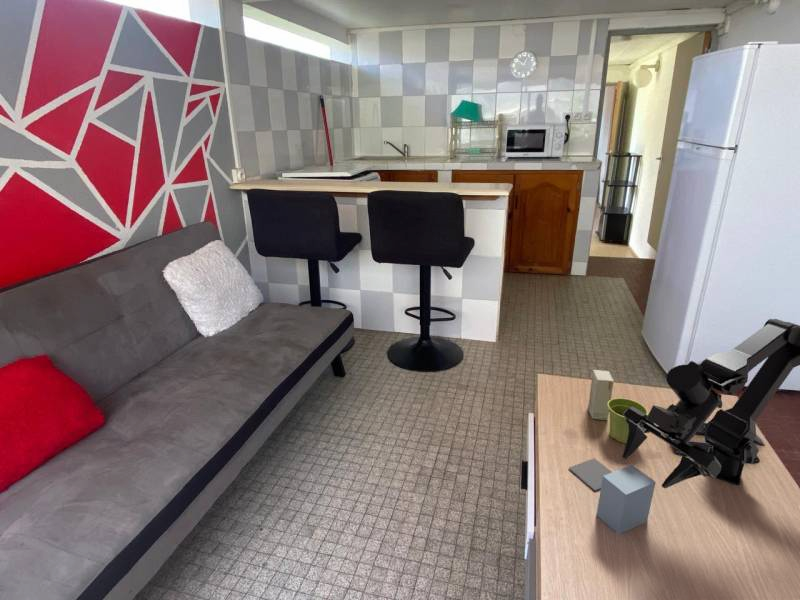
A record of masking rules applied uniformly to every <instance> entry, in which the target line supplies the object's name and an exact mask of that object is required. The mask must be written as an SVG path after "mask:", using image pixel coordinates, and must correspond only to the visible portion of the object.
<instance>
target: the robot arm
mask: <svg viewBox="0 0 800 600" xmlns="http://www.w3.org/2000/svg"><path fill="white" fill-rule="evenodd" d="M762 362H763V363H762ZM761 363H762V365H761V366H760V368H759V370H757V372H756V373H755V374H754V376H753V378H752V379H751V380H750V382H749V381H748V380H749V379H748V378H749V373H750V372H751V371H752V370H753V369H755V367H757V366H758V365H759V364H761ZM799 366H800V324H796V323H793V322H789V321H783V320H780V319H778V318H769V319H767V321H766V322H765V323H764V324H763V327H761V328H760V329H759V330H757V331H756V332H754V333H753V334H751V335H750V336H749V337H747V338H746V339H745V340H743V341H742V342H741V343H739V344H738V345H737V346H735V347H734V348H732V349H731V350H729V351H722V352H721V351H720V352H716V353H714V354H712V355H710V356H708V357H706V358H705V359H703V360H701V361H699V362H695V361H693V360H690V361H689V362H688V363H687V364H679V365H676V366H674V367H672V368H670V369H669V370H668V372H667V374H666V382H667V384H668V386H669V388H671V390H672V391H673V392H674V393H675V395H676V396H677V398H678V399H679V400H678V402H677V403H675V404H673V403H671V404H670V405H668V407H667V408H665V407H661V406H658V405H655V404H653V405H652V407H651V408H650V411H648V416H647V415H646V414H644V413H643V412H641V411H639V410H638V409H636V408H635V407H631V408H628V409H626V411H625V412H624V413H623V414H622V415H623V416H624V417H625V418H626V423H627V424H628V425H629V434H628V439H627V443H625V447H624V450H623V454H622V458H623V459H624V460H625V461H626V460H627V459H629V457H631V456H632V455H633V454H634V453H635V452H636V451H637V450H638V448H639V447H640V446H641V445H642V444H643V443H644V442H645V441H646V439H647V438H648V436H647V435H646V434H649V433H651V434H652V435H654V436H655V437H657V438H658V439H660V440H661V441H664V442H665V443H666V444H668V445H670V446H671V447H673V448H674V449H676V450H677V451H680V453H683V455H682V456H681V458H680V461H679V464H678V465H677V466H676V467H675V468H674V469H673V471H672V472H670V474H669V475H668V476H667V477H666V478H665V479H664V481H663V482H662V483H661V487H662V488H663V489H668V488H669V487H672V486H674V485H677V484H678V483H681V482H683V481H686V480H688V479H692V478H695V477H698V476H702V477H704V478H706V477H707V476H710V477H711V478H714V479H716V478H717V479H719V480H722V481H726V482H728V483H731V484H733V485H737V486H740V485H741V480H742V479H741V477H742V474H743V470H744V467H745V463H746V464H752V463H754V460H755V459H756V457H757V456H758V453H759V452H760V450H759V448H758V447H757V445H756V444H755V442H754V441H755V439H756V437H757V427H756V421H757V420H758V419H759V417H760V416H761V414H762V413H763V411H764V410H765V408H766V407H767V406H768V404H769V403H770V402H771V400H772V399H773V397H774V396H775V394H776V393H777V392H778V390H779V389H780V388H781V386H782V384H783V383H784V382H785V381H786V379H787V378H788V376H789V375H790V373H791V372H792V371H793V370H794V368H796V367H799ZM748 382H749V383H748ZM746 383H748V385H747V386H746ZM745 386H746V387H745ZM712 388H713V389H715V390H717V391H719V392H720V393H724V394H725V395H730V396H731V395H735V394H736V393H738V392H740V391H742V389H743V388H745V389H744V391H743V392H742V394H741V395H740V396H739V398H738V399H737V401H736V402H735V404H733V406H732V407H730V408H728V409H725V410H724V409H722V408H723V401H722V394H720V393H718V392H717V391H715V390H713V389H712ZM717 408H718V410H717ZM715 410H717V411H716V413H715V414H714V416H713V417H712V418H711V420H709V421H708V422H707V423H706V421H707V420H708V419H709V418H710V416H711V415H712V414H713V413H714V411H715ZM705 423H706V425H705V427H703V425H704V424H705ZM703 430H704V443H705V444H708V445H710V446H709V447H708V450H706V449H704V448H702V447H701V446H700V445H698V444H695V445H692V444H691V440H692V439H693V437H694V436H695V435H696V434H697V432H699V433H701V432H703ZM677 442H678V443H677ZM691 445H692V446H691ZM685 455H686V456H685Z"/></svg>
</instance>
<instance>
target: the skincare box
mask: <svg viewBox="0 0 800 600" xmlns="http://www.w3.org/2000/svg"><path fill="white" fill-rule="evenodd" d="M590 383H591V385H590V391H589V398H588V403H587V404H588V405H587V408H588V412H589V414H590V417H591V419H593V420H602V421H608V420H609V416H610V412H609V408H608V406H607V404H608V401H609V400H611V399H612V395H613V394H612V393H613V388H614V378H613V376H612V374H611V373H610V371H608V370H600V369H593V370H592V377H591V382H590Z"/></svg>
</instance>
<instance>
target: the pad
mask: <svg viewBox="0 0 800 600" xmlns="http://www.w3.org/2000/svg"><path fill="white" fill-rule="evenodd" d="M568 470H569V471H570V472H571V473H572V474H574V476H576V477H577V478H578V479H579V480H580V481H582V482H583V483H584V484H585V485H586V486H588V487H589V489H591V490H592V491H594V492H596V491H599V490H600V491H601V485H602V479H603V476H604V475H607V474H609V473H612V472H613V471H612V470H610V469H609V468H608V467H606V465H604V463H602V462H600V461H599V460H597V459H596V458H595V457H593V458H592V459H588V460H586V461H583V462H580V463H577V464H575V465H572V466H570V467H568Z"/></svg>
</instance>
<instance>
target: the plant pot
mask: <svg viewBox="0 0 800 600" xmlns="http://www.w3.org/2000/svg"><path fill="white" fill-rule="evenodd" d="M607 406H608V408H609V437H611V438H612V439H614V440H616V441H617V442H619V443H623V444H626V443H627V439H628V434H629V425H628V424H627V423H626V418H625V417H624V416H623V415H622V414H623V413H624V412H625V411H626V409H628V408H631V407H635V408H636V409H638V410H639V411H641V412H643V413H644V414H646V415H647V416H648V414H649V411H648V409H647V407H645V405H643V404H642V403H641V402H638V401H636V400H633V399H630V398H624V397H615V398H611V400H609V401H608V404H607Z"/></svg>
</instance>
